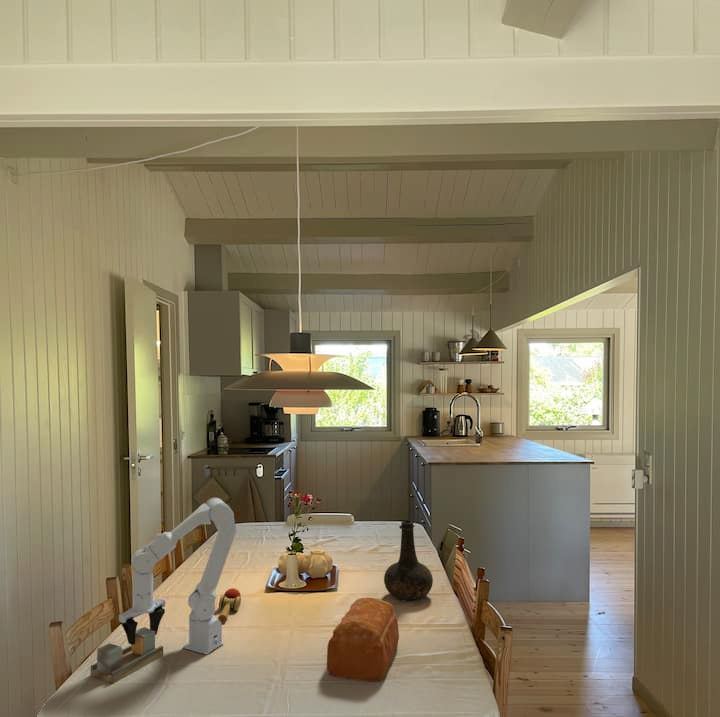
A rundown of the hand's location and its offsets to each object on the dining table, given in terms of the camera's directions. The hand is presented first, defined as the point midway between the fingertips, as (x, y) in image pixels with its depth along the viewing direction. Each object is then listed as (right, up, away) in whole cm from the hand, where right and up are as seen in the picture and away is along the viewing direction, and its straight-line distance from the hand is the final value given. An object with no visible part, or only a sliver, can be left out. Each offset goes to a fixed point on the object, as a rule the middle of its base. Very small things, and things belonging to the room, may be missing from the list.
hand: (142, 638), depth 181 cm
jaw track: (-3, -5, -5) cm, 8 cm away
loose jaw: (0, -4, 0) cm, 4 cm away
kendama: (+18, -6, +33) cm, 38 cm away
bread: (+65, -6, -1) cm, 65 cm away
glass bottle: (+81, -6, +47) cm, 94 cm away
